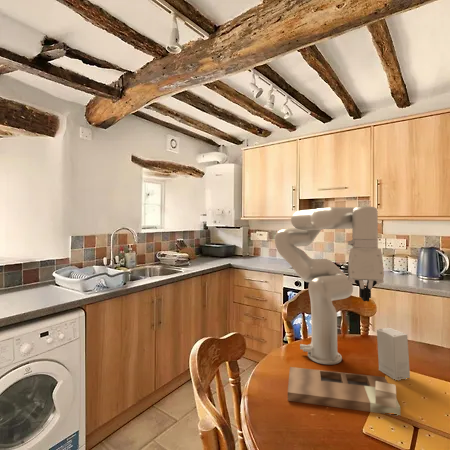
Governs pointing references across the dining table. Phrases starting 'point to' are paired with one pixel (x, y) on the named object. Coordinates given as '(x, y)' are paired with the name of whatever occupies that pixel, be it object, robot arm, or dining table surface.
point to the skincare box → (393, 353)
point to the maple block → (385, 394)
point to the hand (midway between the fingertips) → (365, 300)
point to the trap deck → (336, 390)
